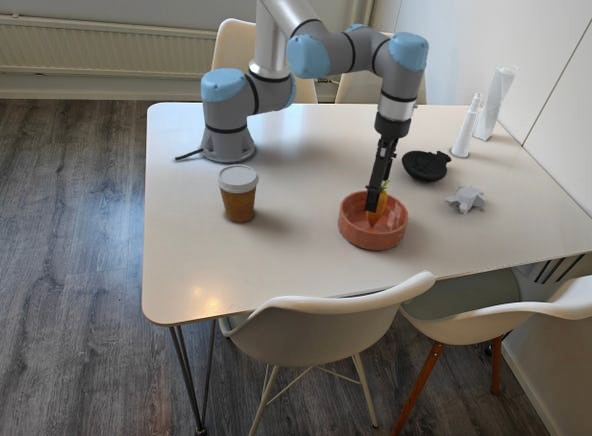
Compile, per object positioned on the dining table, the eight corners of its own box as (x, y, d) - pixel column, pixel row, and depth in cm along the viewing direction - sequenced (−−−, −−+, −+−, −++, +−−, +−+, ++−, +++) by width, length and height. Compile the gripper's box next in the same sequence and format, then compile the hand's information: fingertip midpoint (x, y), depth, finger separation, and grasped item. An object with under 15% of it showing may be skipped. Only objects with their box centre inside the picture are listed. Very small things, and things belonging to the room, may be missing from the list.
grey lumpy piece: (494, 193, 118) (471, 207, 108) (487, 207, 121) (464, 222, 111) (467, 178, 123) (442, 190, 112) (461, 192, 125) (436, 205, 115)
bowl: (346, 255, 95) (349, 236, 91) (331, 209, 107) (333, 191, 103) (413, 248, 100) (418, 231, 96) (391, 206, 112) (395, 189, 109)
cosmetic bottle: (461, 148, 146) (480, 89, 132) (471, 156, 142) (492, 97, 128) (447, 149, 144) (466, 90, 130) (457, 158, 140) (477, 98, 126)
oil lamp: (462, 176, 131) (467, 163, 128) (423, 194, 119) (427, 180, 116) (429, 155, 138) (432, 142, 135) (389, 170, 127) (392, 156, 124)
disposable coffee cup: (239, 232, 95) (237, 191, 88) (211, 215, 98) (206, 174, 91) (267, 213, 102) (267, 174, 95) (240, 198, 105) (237, 158, 98)
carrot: (381, 222, 105) (392, 174, 96) (380, 234, 101) (391, 186, 92) (362, 218, 105) (371, 170, 96) (360, 230, 101) (370, 182, 92)
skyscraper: (494, 137, 158) (522, 65, 140) (488, 143, 152) (516, 70, 135) (475, 129, 160) (500, 58, 143) (469, 135, 155) (494, 63, 137)
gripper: (401, 146, 74) (380, 230, 87) (420, 96, 93) (400, 172, 106) (362, 135, 74) (347, 221, 88) (389, 88, 93) (373, 165, 107)
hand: (376, 194), depth 97 cm, fingers open, 13 cm apart
